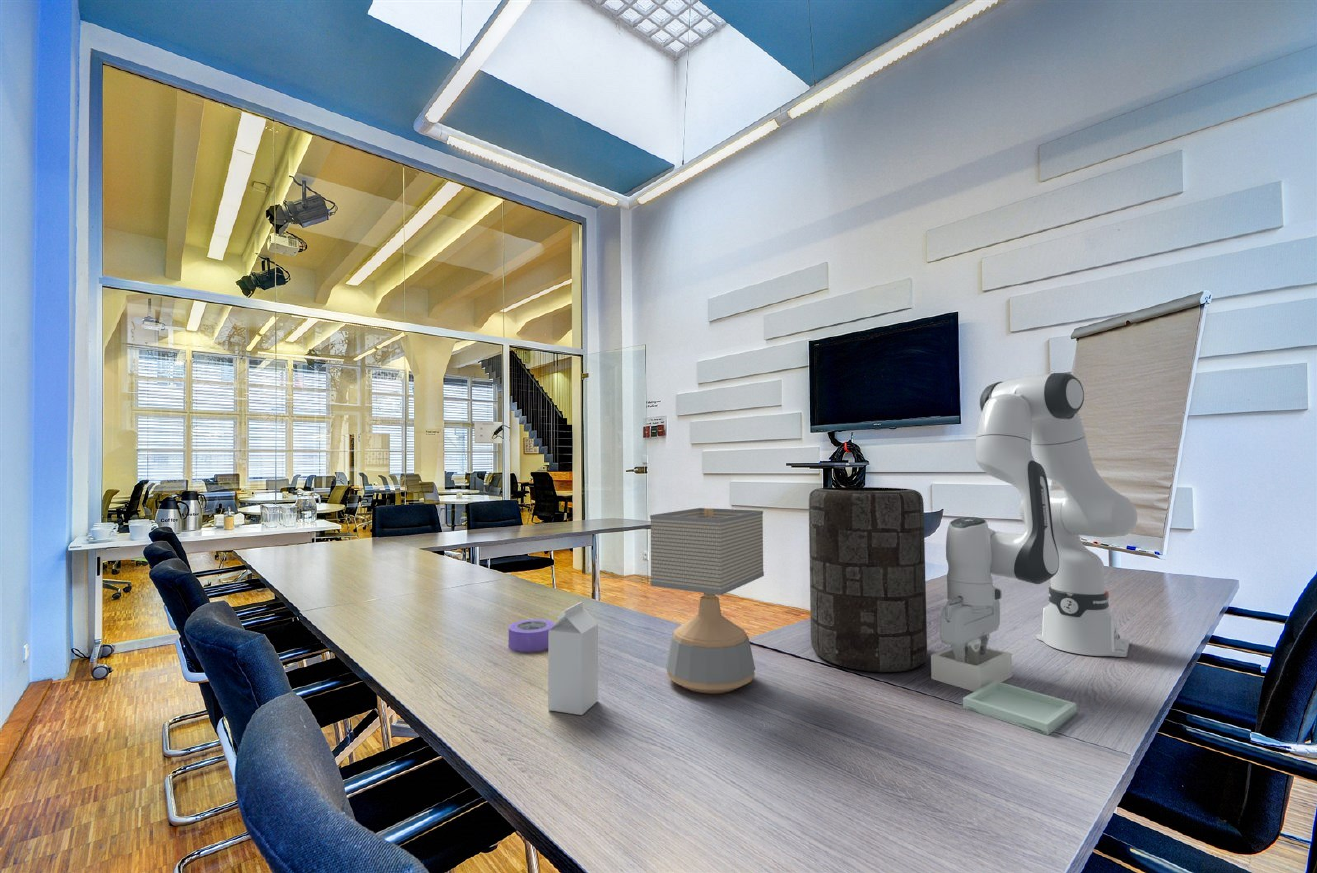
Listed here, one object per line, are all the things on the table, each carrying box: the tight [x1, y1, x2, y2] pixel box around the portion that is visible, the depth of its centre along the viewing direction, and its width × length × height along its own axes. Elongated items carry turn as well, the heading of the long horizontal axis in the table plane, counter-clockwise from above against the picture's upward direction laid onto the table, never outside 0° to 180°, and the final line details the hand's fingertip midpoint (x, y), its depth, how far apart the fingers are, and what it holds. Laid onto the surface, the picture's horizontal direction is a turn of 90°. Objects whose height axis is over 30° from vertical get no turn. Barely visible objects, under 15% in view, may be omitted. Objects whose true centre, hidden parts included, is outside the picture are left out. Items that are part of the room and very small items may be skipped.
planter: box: [808, 486, 928, 673], centre depth 140 cm, size 26×26×40 cm
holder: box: [930, 646, 1013, 693], centre depth 124 cm, size 15×10×5 cm, turn 127°
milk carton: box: [547, 601, 599, 716], centre depth 111 cm, size 7×7×19 cm
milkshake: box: [963, 631, 984, 666], centre depth 124 cm, size 4×5×10 cm
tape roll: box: [508, 618, 556, 653], centre depth 148 cm, size 12×12×5 cm
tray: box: [962, 681, 1078, 736], centre depth 108 cm, size 14×14×2 cm
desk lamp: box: [649, 507, 765, 695], centre depth 123 cm, size 22×19×37 cm
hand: (971, 658), depth 124 cm, fingers open, 8 cm apart
